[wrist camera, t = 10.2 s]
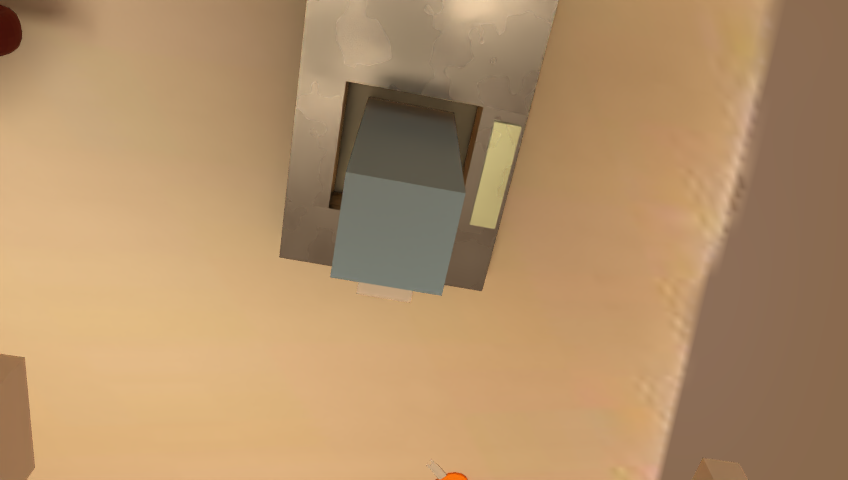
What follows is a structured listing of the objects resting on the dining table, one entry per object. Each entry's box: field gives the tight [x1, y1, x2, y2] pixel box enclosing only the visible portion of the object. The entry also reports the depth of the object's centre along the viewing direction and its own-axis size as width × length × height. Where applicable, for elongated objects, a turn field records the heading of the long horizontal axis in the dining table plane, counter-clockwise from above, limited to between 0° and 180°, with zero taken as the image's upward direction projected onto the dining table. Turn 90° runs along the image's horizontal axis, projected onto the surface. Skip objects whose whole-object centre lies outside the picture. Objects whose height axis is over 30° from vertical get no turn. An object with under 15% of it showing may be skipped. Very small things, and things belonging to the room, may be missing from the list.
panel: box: [279, 0, 559, 291], centre depth 28 cm, size 24×10×2 cm, turn 169°
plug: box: [330, 97, 466, 303], centre depth 28 cm, size 5×4×10 cm
